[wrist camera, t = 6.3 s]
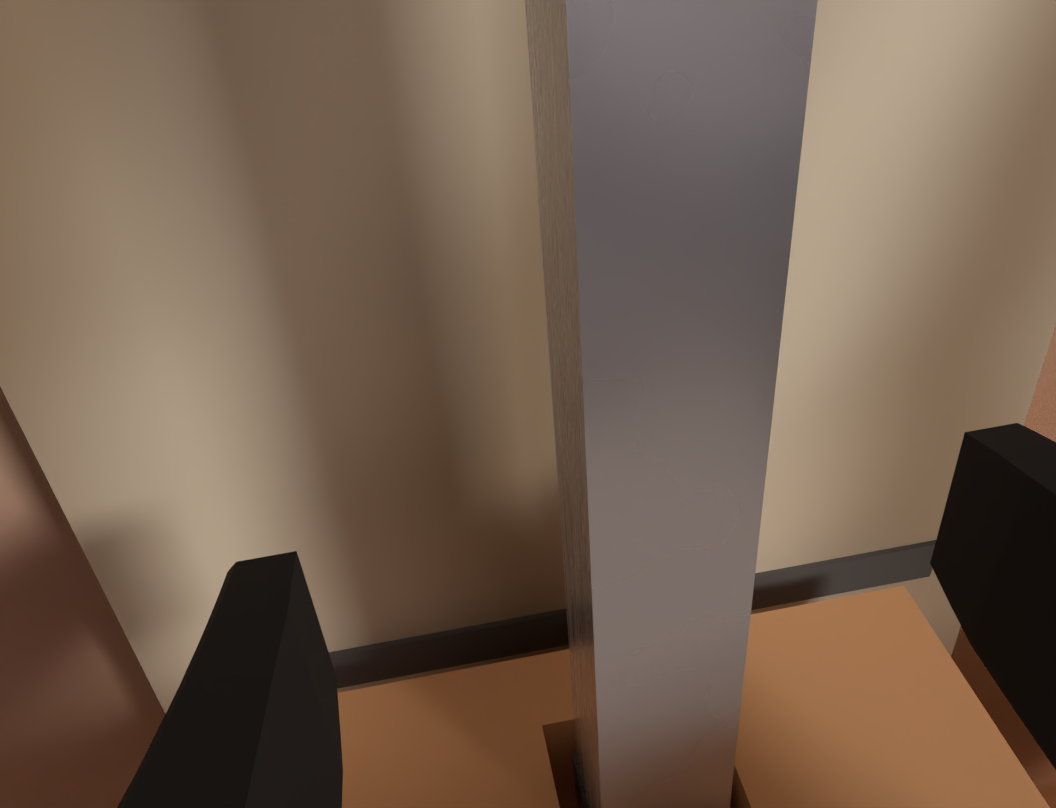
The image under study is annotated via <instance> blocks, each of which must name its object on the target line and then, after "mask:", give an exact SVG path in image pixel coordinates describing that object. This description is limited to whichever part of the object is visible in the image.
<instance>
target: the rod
mask: <svg viewBox="0 0 1056 808" xmlns="http://www.w3.org/2000/svg"><path fill="white" fill-rule="evenodd" d="M817 1H818V0H525V10H526V24H527V39H528V53H529V68H530V83H531V97H532V112H533V126H534V141H535V156H536V170H537V185H538V199H539V214H540V229H541V243H542V258H543V272H544V287H545V302H546V316H547V331H548V345H549V360H550V375H551V389H552V404H553V418H554V433H555V448H556V462H557V477H558V491H559V506H560V521H561V535H562V550H563V564H564V579H565V594H566V608H567V623H568V637H569V652H570V667H571V681H572V696H573V710H574V725H575V740H576V753H573V754H572V756H573V769H574V783H575V794H576V798H577V802H578V807H579V808H730V800H731V791H732V782H733V773H734V764H735V754H736V745H737V736H738V727H739V718H740V708H741V699H742V690H743V681H744V672H745V663H746V653H747V644H748V635H749V626H750V617H751V607H752V598H753V589H754V580H755V571H756V562H757V552H758V543H759V534H760V525H761V516H762V506H763V497H764V488H765V479H766V470H767V461H768V451H769V442H770V433H771V424H772V415H773V405H774V396H775V387H776V378H777V369H778V359H779V350H780V341H781V332H782V323H783V314H784V304H785V295H786V286H787V277H788V268H789V258H790V249H791V240H792V231H793V222H794V213H795V203H796V194H797V185H798V176H799V167H800V157H801V148H802V139H803V130H804V121H805V112H806V102H807V93H808V84H809V75H810V66H811V56H812V47H813V38H814V29H815V20H816V10H817Z"/></svg>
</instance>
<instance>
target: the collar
mask: <svg viewBox="0 0 1056 808" xmlns="http://www.w3.org/2000/svg"><path fill="white" fill-rule="evenodd" d="M338 705H339V718H340V732H341V748H342V763H343V787H342V808H579V807H578V802H577V798H576V794H575V783H574V769H573V756H572V754H573V753H576V740H575V725H574V710H573V696H572V681H571V667H570V652H569V649H567V650H562V651H556V652H551V653H546V654H540V655H535V656H530V657H525V658H519V659H514V660H509V661H504V662H498V663H493V664H488V665H482V666H477V667H472V668H467V669H461V670H456V671H451V672H446V673H440V674H435V675H430V676H424V677H419V678H414V679H409V680H403V681H398V682H393V683H388V684H382V685H377V686H372V687H367V688H361V689H356V690H351V691H345V692H340V693H338ZM730 808H1050V807H1049V806H1048V804H1047V803H1046V801H1045V800H1044V798H1043V797H1042V795H1041V794H1040V792H1039V791H1038V789H1037V788H1036V786H1035V784H1034V783H1033V781H1032V780H1031V778H1030V777H1029V775H1028V774H1027V772H1026V771H1025V769H1024V768H1023V766H1022V765H1021V763H1020V762H1019V760H1018V759H1017V757H1016V755H1015V754H1014V752H1013V751H1012V749H1011V748H1010V746H1009V745H1008V743H1007V742H1006V740H1005V739H1004V737H1003V736H1002V734H1001V733H1000V731H999V730H998V728H997V726H996V725H995V723H994V722H993V720H992V719H991V717H990V716H989V714H988V713H987V711H986V710H985V708H984V707H983V705H982V704H981V702H980V701H979V699H978V697H977V696H976V694H975V693H974V691H973V690H972V688H971V687H970V685H969V684H968V682H967V681H966V679H965V678H964V676H963V675H962V673H961V672H960V670H959V668H958V667H957V665H956V664H955V662H954V661H953V659H952V658H951V656H950V655H949V653H948V652H947V650H946V649H945V647H944V646H943V644H942V643H941V641H940V639H939V638H938V636H937V635H936V633H935V632H934V630H933V629H932V627H931V626H930V624H929V623H928V621H927V620H926V618H925V617H924V615H923V614H922V612H921V610H920V609H919V607H918V606H917V604H916V603H915V601H914V600H913V598H912V597H911V595H910V594H909V592H908V591H907V589H906V588H905V586H899V587H894V588H888V589H883V590H878V591H873V592H867V593H862V594H857V595H851V596H846V597H841V598H836V599H830V600H825V601H820V602H815V603H809V604H804V605H799V606H793V607H788V608H783V609H778V610H772V611H767V612H762V613H757V614H751V617H750V626H749V635H748V644H747V653H746V663H745V672H744V681H743V690H742V699H741V708H740V718H739V727H738V736H737V745H736V754H735V764H734V773H733V782H732V791H731V800H730Z"/></svg>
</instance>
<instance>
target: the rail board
mask: <svg viewBox="0 0 1056 808" xmlns="http://www.w3.org/2000/svg"><path fill="white" fill-rule="evenodd" d="M1055 326H1056V0H818V1H817V10H816V20H815V29H814V38H813V47H812V56H811V66H810V75H809V84H808V93H807V102H806V112H805V121H804V130H803V139H802V148H801V157H800V167H799V176H798V185H797V194H796V203H795V213H794V222H793V231H792V240H791V249H790V258H789V268H788V277H787V286H786V295H785V304H784V314H783V323H782V332H781V341H780V350H779V359H778V369H777V378H776V387H775V396H774V405H773V415H772V424H771V433H770V442H769V451H768V461H767V470H766V479H765V488H764V497H763V506H762V516H761V525H760V534H759V543H758V552H757V562H756V571H755V580H754V589H753V598H752V607H751V614H757V613H762V612H767V611H772V610H778V609H783V608H788V607H793V606H799V605H804V604H809V603H815V602H820V601H825V600H830V599H836V598H841V597H846V596H851V595H857V594H862V593H867V592H873V591H878V590H883V589H888V588H894V587H899V586H905V588H906V589H907V591H908V592H909V594H910V595H911V597H912V598H913V600H914V601H915V603H916V604H917V606H918V607H919V609H920V610H921V612H922V614H923V615H924V617H925V618H926V620H927V621H928V623H929V624H930V626H931V627H932V629H933V630H934V632H935V633H936V635H937V636H938V638H939V639H940V641H941V643H942V644H943V646H944V647H945V649H946V650H947V652H948V653H949V655H950V656H952V652H953V649H954V646H955V643H956V640H957V637H958V633H959V630H960V627H961V625H960V623H959V621H958V619H957V617H956V615H955V613H954V611H953V609H952V607H951V605H950V603H949V601H948V599H947V597H946V595H945V593H944V591H943V589H942V587H941V585H940V583H939V581H938V578H937V576H936V574H935V572H934V570H933V568H932V566H931V564H930V562H931V558H932V554H933V551H934V547H935V543H936V539H937V535H938V532H939V528H940V524H941V520H942V516H943V513H944V509H945V505H946V501H947V497H948V494H949V490H950V486H951V482H952V479H953V475H954V471H955V467H956V463H957V460H958V456H959V452H960V448H961V444H962V441H963V437H964V433H965V432H969V431H975V430H980V429H986V428H991V427H997V426H1003V425H1008V424H1014V423H1019V424H1021V425H1023V426H1024V424H1025V421H1026V418H1027V414H1028V411H1029V408H1030V405H1031V402H1032V399H1033V395H1034V392H1035V389H1036V386H1037V383H1038V380H1039V376H1040V373H1041V370H1042V367H1043V364H1044V360H1045V357H1046V354H1047V351H1048V348H1049V345H1050V341H1051V338H1052V335H1053V332H1054V329H1055ZM0 387H1V389H2V391H3V393H4V395H5V397H6V399H7V401H8V403H9V405H10V407H11V409H12V411H13V413H14V415H15V417H16V419H17V421H18V423H19V425H20V427H21V429H22V431H23V433H24V435H25V437H26V439H27V441H28V443H29V445H30V447H31V449H32V451H33V453H34V454H35V456H36V458H37V460H38V462H39V464H40V466H41V468H42V470H43V472H44V474H45V476H46V478H47V480H48V482H49V484H50V486H51V488H52V490H53V492H54V494H55V496H56V498H57V500H58V502H59V504H60V506H61V508H62V510H63V512H64V514H65V516H66V518H67V520H68V522H69V524H70V526H71V528H72V530H73V532H74V534H75V536H76V538H77V540H78V542H79V544H80V546H81V548H82V550H83V552H84V554H85V556H86V558H87V560H88V562H89V564H90V566H91V567H92V569H93V571H94V573H95V575H96V577H97V579H98V581H99V583H100V585H101V587H102V589H103V591H104V593H105V595H106V597H107V599H108V601H109V603H110V605H111V607H112V609H113V611H114V613H115V615H116V617H117V619H118V621H119V623H120V625H121V627H122V629H123V631H124V633H125V635H126V637H127V639H128V641H129V643H130V645H131V647H132V649H133V651H134V653H135V655H136V657H137V659H138V661H139V663H140V665H141V667H142V669H143V671H144V673H145V675H146V677H147V679H148V680H149V682H150V684H151V686H152V688H153V690H154V692H155V694H156V696H157V698H158V700H159V702H160V704H161V706H162V708H163V710H164V712H165V714H166V712H167V710H168V708H169V706H170V704H171V702H172V700H173V698H174V696H175V694H176V692H177V690H178V688H179V686H180V684H181V681H182V679H183V677H184V675H185V672H186V670H187V668H188V666H189V664H190V661H191V659H192V657H193V655H194V653H195V650H196V648H197V646H198V644H199V641H200V639H201V637H202V634H203V632H204V630H205V627H206V625H207V622H208V620H209V618H210V615H211V613H212V610H213V608H214V605H215V603H216V600H217V598H218V596H219V593H220V590H221V588H222V585H223V583H224V580H225V577H226V575H227V572H228V571H229V570H230V568H231V567H232V566H233V565H234V564H235V563H236V562H238V561H244V560H249V559H255V558H260V557H266V556H272V555H277V554H283V553H289V552H294V551H297V554H298V557H299V560H300V563H301V567H302V570H303V573H304V576H305V579H306V582H307V586H308V589H309V592H310V595H311V598H312V601H313V605H314V608H315V611H316V614H317V617H318V620H319V624H320V627H321V630H322V633H323V636H324V639H325V642H326V646H327V649H328V652H329V655H330V658H331V661H332V665H333V668H334V671H335V674H336V679H337V692H338V693H340V692H345V691H351V690H356V689H361V688H367V687H372V686H377V685H382V684H388V683H393V682H398V681H403V680H409V679H414V678H419V677H424V676H430V675H435V674H440V673H446V672H451V671H456V670H461V669H467V668H472V667H477V666H482V665H488V664H493V663H498V662H504V661H509V660H514V659H519V658H525V657H530V656H535V655H540V654H546V653H551V652H556V651H562V650H567V649H569V637H568V623H567V608H566V594H565V579H564V564H563V550H562V535H561V521H560V506H559V491H558V477H557V462H556V448H555V433H554V418H553V404H552V389H551V375H550V360H549V345H548V331H547V316H546V302H545V287H544V272H543V258H542V243H541V229H540V214H539V199H538V185H537V170H536V156H535V141H534V126H533V112H532V97H531V83H530V68H529V53H528V39H527V24H526V10H525V0H0Z"/></svg>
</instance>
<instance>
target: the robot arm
mask: <svg viewBox="0 0 1056 808" xmlns="http://www.w3.org/2000/svg"><path fill="white" fill-rule="evenodd" d="M930 564H931V566H932V568H933V570H934V572H935V574H936V576H937V578H938V581H939V583H940V585H941V587H942V589H943V591H944V593H945V595H946V597H947V599H948V601H949V603H950V605H951V607H952V609H953V611H954V613H955V615H956V617H957V619H958V621H959V623H960V625H961V626H962V628H963V630H964V632H965V634H966V636H967V638H968V640H969V642H970V643H971V645H972V647H973V648H974V650H975V651H976V653H977V654H978V656H979V658H980V659H981V661H982V662H983V664H984V665H985V667H986V668H987V670H988V671H989V673H990V674H991V676H992V677H993V679H994V680H995V681H996V683H997V684H998V686H999V687H1000V689H1001V690H1002V692H1003V693H1004V695H1005V696H1006V698H1007V699H1008V701H1009V702H1010V704H1011V705H1012V707H1013V708H1014V710H1015V711H1016V713H1017V714H1018V715H1019V717H1020V718H1021V720H1022V721H1023V723H1024V724H1025V726H1026V727H1027V729H1028V730H1029V731H1030V733H1031V734H1032V736H1033V737H1034V739H1035V740H1036V742H1037V743H1038V745H1039V746H1040V747H1041V749H1042V750H1043V752H1044V753H1045V755H1046V756H1047V758H1048V759H1049V761H1050V762H1051V763H1052V765H1053V766H1054V768H1055V769H1056V443H1055V442H1054V441H1052V440H1050V439H1048V438H1046V437H1044V436H1042V435H1040V434H1039V433H1037V432H1035V431H1033V430H1031V429H1029V428H1027V427H1025V426H1023V425H1021V424H1019V423H1014V424H1008V425H1003V426H997V427H991V428H986V429H980V430H975V431H969V432H965V433H964V437H963V441H962V444H961V448H960V452H959V456H958V460H957V463H956V467H955V471H954V475H953V479H952V482H951V486H950V490H949V494H948V497H947V501H946V505H945V509H944V513H943V516H942V520H941V524H940V528H939V532H938V535H937V539H936V543H935V547H934V551H933V554H932V558H931V562H930ZM342 787H343V763H342V748H341V732H340V718H339V705H338V692H337V679H336V674H335V671H334V668H333V665H332V661H331V658H330V655H329V652H328V649H327V646H326V642H325V639H324V636H323V633H322V630H321V627H320V624H319V620H318V617H317V614H316V611H315V608H314V605H313V601H312V598H311V595H310V592H309V589H308V586H307V582H306V579H305V576H304V573H303V570H302V567H301V563H300V560H299V557H298V554H297V551H294V552H289V553H283V554H277V555H272V556H266V557H260V558H255V559H249V560H244V561H238V562H236V563H235V564H234V565H233V566H232V567H231V568H230V570H229V571H228V572H227V575H226V577H225V580H224V583H223V585H222V588H221V590H220V593H219V596H218V598H217V600H216V603H215V605H214V608H213V610H212V613H211V615H210V618H209V620H208V622H207V625H206V627H205V630H204V632H203V634H202V637H201V639H200V641H199V644H198V646H197V648H196V650H195V653H194V655H193V657H192V659H191V661H190V664H189V666H188V668H187V670H186V672H185V675H184V677H183V679H182V681H181V684H180V686H179V688H178V690H177V692H176V694H175V696H174V698H173V700H172V702H171V704H170V706H169V708H168V710H167V712H166V714H165V716H164V718H163V720H162V722H161V725H160V727H159V729H158V731H157V733H156V735H155V737H154V739H153V741H152V743H151V745H150V747H149V749H148V751H147V753H146V755H145V757H144V759H143V761H142V763H141V765H140V767H139V769H138V771H137V772H136V774H135V776H134V778H133V780H132V782H131V784H130V785H129V787H128V789H127V791H126V793H125V794H124V796H123V798H122V800H121V802H120V803H119V805H118V807H117V808H342Z"/></svg>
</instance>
